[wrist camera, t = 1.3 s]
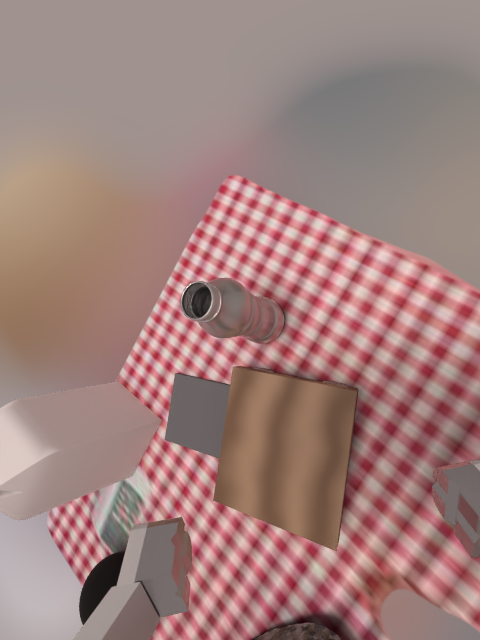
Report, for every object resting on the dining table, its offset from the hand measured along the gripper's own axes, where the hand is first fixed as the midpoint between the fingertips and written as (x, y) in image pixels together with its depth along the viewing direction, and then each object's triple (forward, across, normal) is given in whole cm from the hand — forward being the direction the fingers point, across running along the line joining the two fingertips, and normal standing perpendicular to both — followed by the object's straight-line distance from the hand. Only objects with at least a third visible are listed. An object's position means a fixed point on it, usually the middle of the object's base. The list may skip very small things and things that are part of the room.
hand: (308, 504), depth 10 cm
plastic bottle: (+36, -3, +10) cm, 38 cm away
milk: (+39, +25, +26) cm, 53 cm away
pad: (+34, +10, +22) cm, 42 cm away
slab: (+27, -2, +24) cm, 36 cm away
